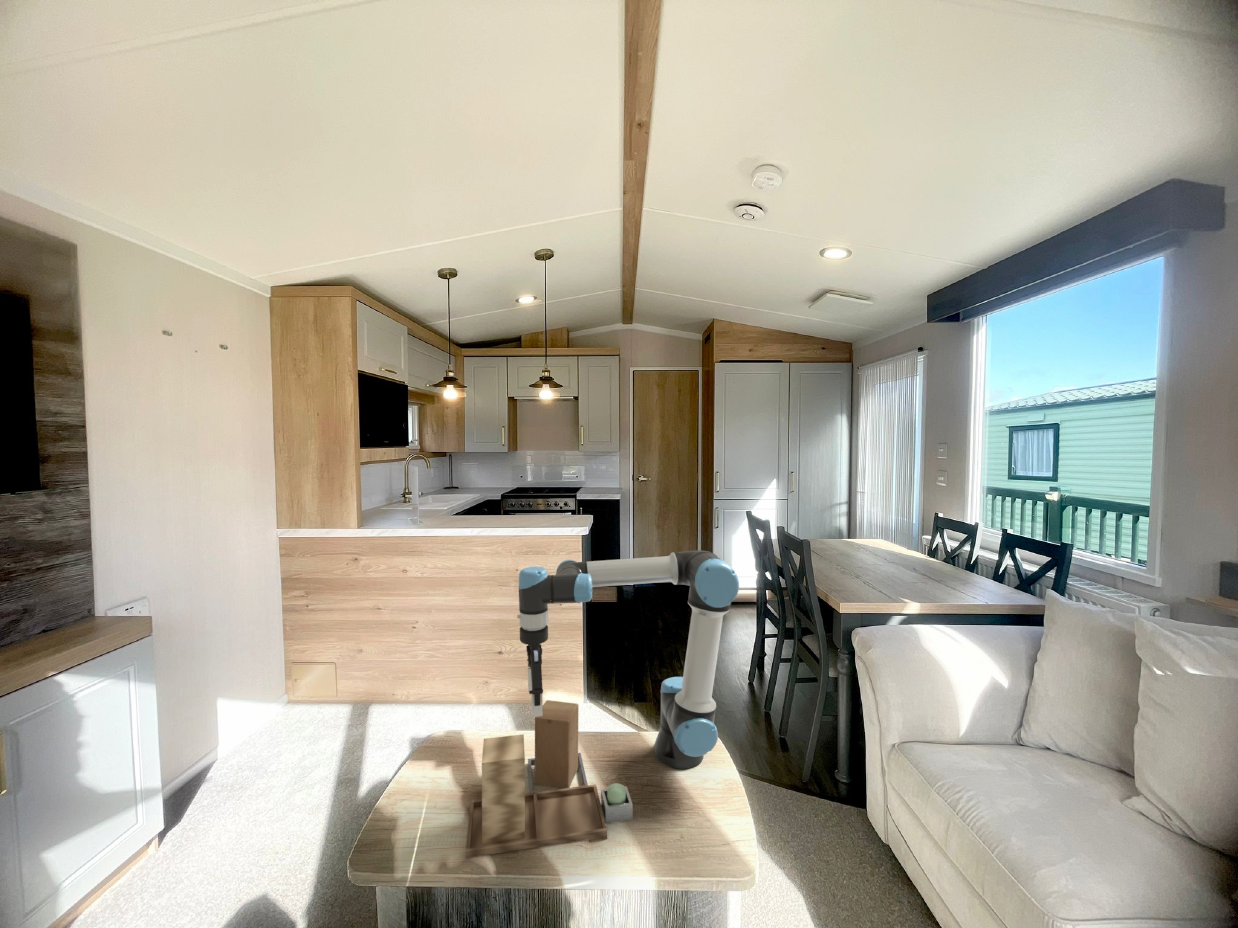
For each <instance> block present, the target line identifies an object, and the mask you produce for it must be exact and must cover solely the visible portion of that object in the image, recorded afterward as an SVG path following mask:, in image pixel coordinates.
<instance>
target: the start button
mask: <svg viewBox="0 0 1238 928" xmlns="http://www.w3.org/2000/svg"><path fill="white" fill-rule="evenodd" d="M606 789H607V804H608V806H611V805H618V804H625V803H626V788H625V786H624V785H623V784H621V783H617V782H615V783H612V784H610V785H608V787H607V788H606Z"/></svg>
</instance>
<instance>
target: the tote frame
mask: <svg viewBox="0 0 1238 928" xmlns="http://www.w3.org/2000/svg"><path fill="white" fill-rule="evenodd" d="M532 765H533V766H535V757H532V758H527V769H528V784H529V785H528V787H529V793H534V791H533V789H534V788H533V787H534V786H533V777H532V776H533V774H532V773H533V772H532ZM578 766H579V769H580V775H581V779H582V783H583V786H588V784H589V783H588V780H587V775H586V771H585V767H584V762H583V757H582V752H578ZM578 787H580V786H578ZM570 788H572V787H571V786H570ZM557 789H558V788H555V790H557ZM564 789H565V788H564ZM549 790H550V789H548V790H547V791H549ZM542 791H543V790H541V791H540V792H542Z"/></svg>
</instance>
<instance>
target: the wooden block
mask: <svg viewBox="0 0 1238 928" xmlns="http://www.w3.org/2000/svg"><path fill="white" fill-rule="evenodd" d="M542 709H543V716H539V717H534V758H535V765H534V785H535V786H539V787H548V788H553V789H564V788H571V785H572V783H573V780H574V778H575V776H576V774H577V772H578V770H579V760H578V753H579V704H578V703H575V702H565V701H557V700H549V699H547V700H546V701H545V702H544V703H543V704H542Z"/></svg>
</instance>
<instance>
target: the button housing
mask: <svg viewBox="0 0 1238 928" xmlns="http://www.w3.org/2000/svg"><path fill="white" fill-rule="evenodd" d="M624 787H625V788H626V803H625V804H618V805H611V806H608V804H607V788H603V789H602V788H601V789H600V803H601V807H602V811H603V815H604V819H605V823H606V824H611V823H617V822H624V821H625V822H626V821H631V820H633V812H634V811H633V810H634V809H633V808H634V807H633V801H632V799H631V796H630V793H629V789H628V787H627V786H624Z"/></svg>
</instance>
